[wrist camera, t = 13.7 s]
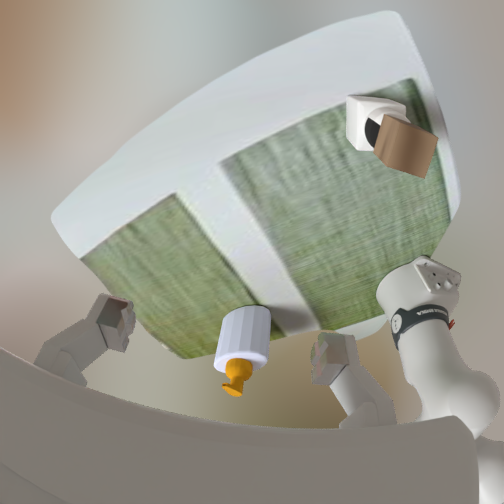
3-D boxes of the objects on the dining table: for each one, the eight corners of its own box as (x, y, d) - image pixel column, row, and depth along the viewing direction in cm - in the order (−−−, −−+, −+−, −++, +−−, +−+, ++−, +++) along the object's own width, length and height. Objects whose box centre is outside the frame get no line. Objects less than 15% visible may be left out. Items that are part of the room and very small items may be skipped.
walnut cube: (419, 126, 27) (438, 137, 23) (407, 163, 30) (424, 178, 26) (383, 113, 27) (399, 122, 23) (373, 152, 30) (386, 166, 26)
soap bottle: (259, 297, 63) (250, 379, 47) (278, 318, 67) (275, 395, 51) (214, 316, 69) (197, 390, 52) (235, 334, 72) (223, 405, 56)
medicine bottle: (387, 140, 40) (417, 166, 30) (345, 138, 41) (365, 162, 31) (389, 98, 36) (422, 112, 26) (345, 94, 36) (368, 105, 27)
